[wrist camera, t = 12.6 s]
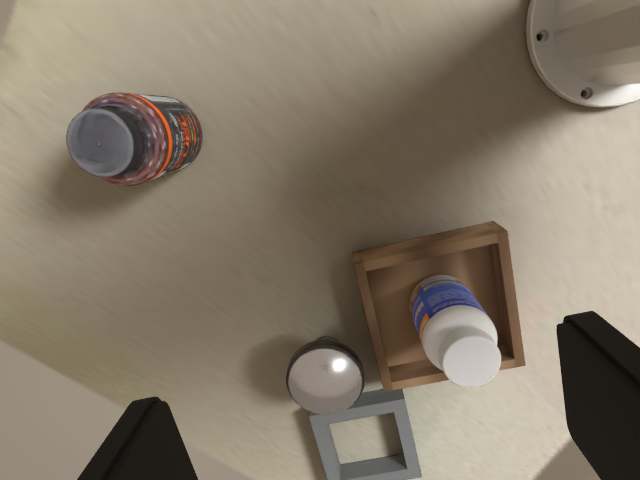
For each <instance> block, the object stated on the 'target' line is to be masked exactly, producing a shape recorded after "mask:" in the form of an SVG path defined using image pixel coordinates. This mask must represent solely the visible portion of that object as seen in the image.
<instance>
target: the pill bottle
mask: <svg viewBox="0 0 640 480" xmlns="http://www.w3.org/2000/svg"><path fill="white" fill-rule="evenodd" d="M409 306H410V312H411V316H412V318H413V321H414V324H415V327H416V329H417V332H418V335H419V338H420V340H421V343H422V346H423V348H424V351H425V353H426V355H427V357H428V359H429V360H430V361H431V362H432V363H433V364H434V365H435V366H436V367H437V368H439V369H441V370H443V371H444V373H445V375H446V376H447V378H448V379H449V380H450V381H452V382H453V383H455V384H457V385H459V386H463V387H477V386H481V385H483V384H485V383H487V382H489V381H490V380H491V379H493V378H494V376H495V375H496V374H497V372H498V371H499V368H500V365H501V354H500V351H499V349H498V347H497V340H498V338H497V331H496V328H495V326H494V324H493V322H492V321H491V319H490V318H489V316H488V315H487V314H486V312H485V311H484V310H483V308H482V307H481V306H480V304H479V303H478V301H477V300H476V299H475V297H474V296H473V295H472V293H471V292H470V290H469V289H468V288H467V286H466V285H465V284H464V283H463V282H462V281H460V280H459V279H457V278H455V277H452V276H448V275H435V276H431V277H428V278H426V279H424V280H423V281H421V282H420V283H419V284H418V285H417V286H416V287H415V289H414V290H413V292H412V294H411V297H410V304H409Z"/></svg>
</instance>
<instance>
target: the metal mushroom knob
mask: <svg viewBox="0 0 640 480" xmlns="http://www.w3.org/2000/svg"><path fill="white" fill-rule="evenodd" d="M286 382H287V388H288V391H289V393H290V395H291V397H292V398H293V399H294V401H295V402H296V403H297V404H299V405H300V406H301V407H303V408H304V409H306V410H308V411H310V412H313V413H317V414H324V415H326V414H335V413H339V412H342V411H344V410H346V409H348V408H349V407H351V406H352V405H353V404H354V403H355V402H356V401H357V400H358V399H359V397H360V396H361V393H362V391H363V388H364V372H363V366H362V363H361V361H360V359H359V358H358V356H357V355H356V354H355V352H354V351H352V350H351V349H350V348H349V347H347V346H346V345H343V344H341V343H339V342H337V341H336V340H335V339H334V338H332V337H329V336H324V337H321V338H319V339H318V340H317V341H315V342H311V343H309V344H306V345H304V346H303V347H301V348H300V349H299V350H298V351H297V352H296V353H295V354H294V355H293V357H292V358H291V360H290V363H289V366H288V371H287V377H286Z"/></svg>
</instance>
